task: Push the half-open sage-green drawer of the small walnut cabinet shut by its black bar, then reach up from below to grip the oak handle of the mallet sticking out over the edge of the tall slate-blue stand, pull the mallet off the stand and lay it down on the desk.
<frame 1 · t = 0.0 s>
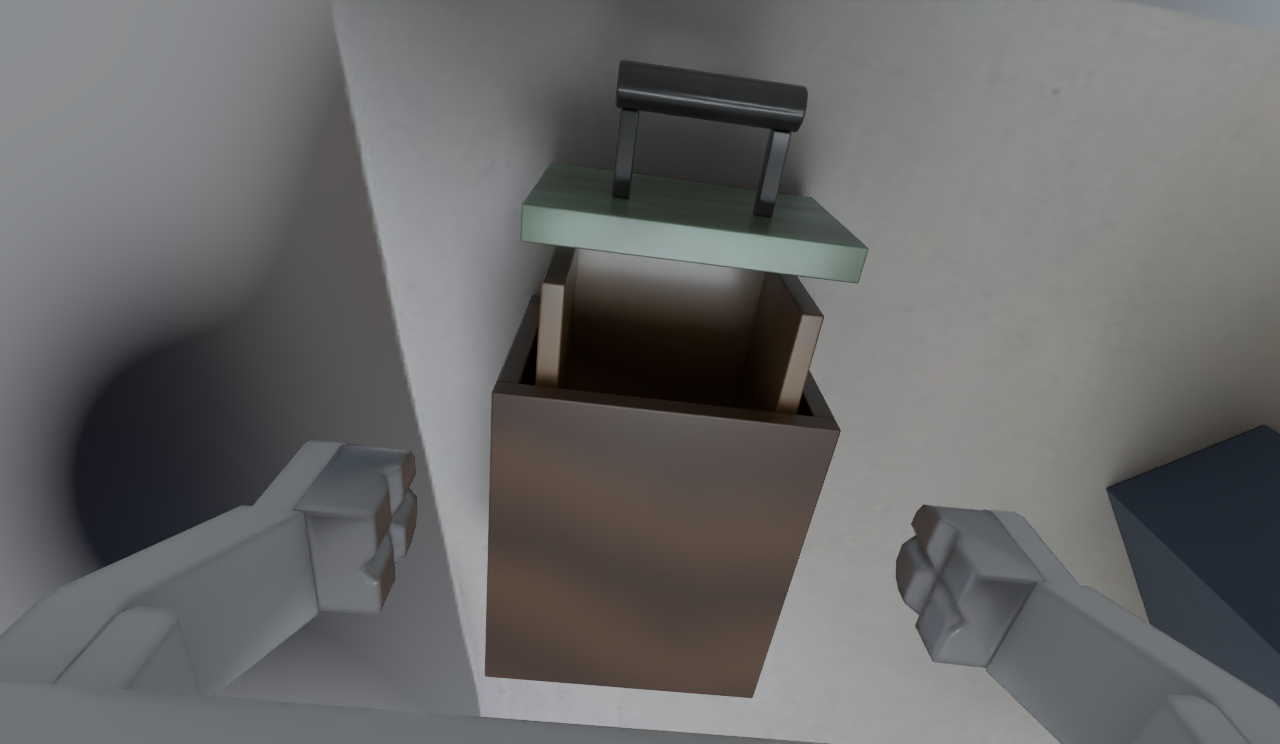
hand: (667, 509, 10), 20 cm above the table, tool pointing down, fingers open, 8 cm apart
stand: (1209, 564, 37), on the table
cabinet: (640, 439, 33), on the table
drawer: (670, 318, 25), point 5 cm above the table, slide at 5.0 cm
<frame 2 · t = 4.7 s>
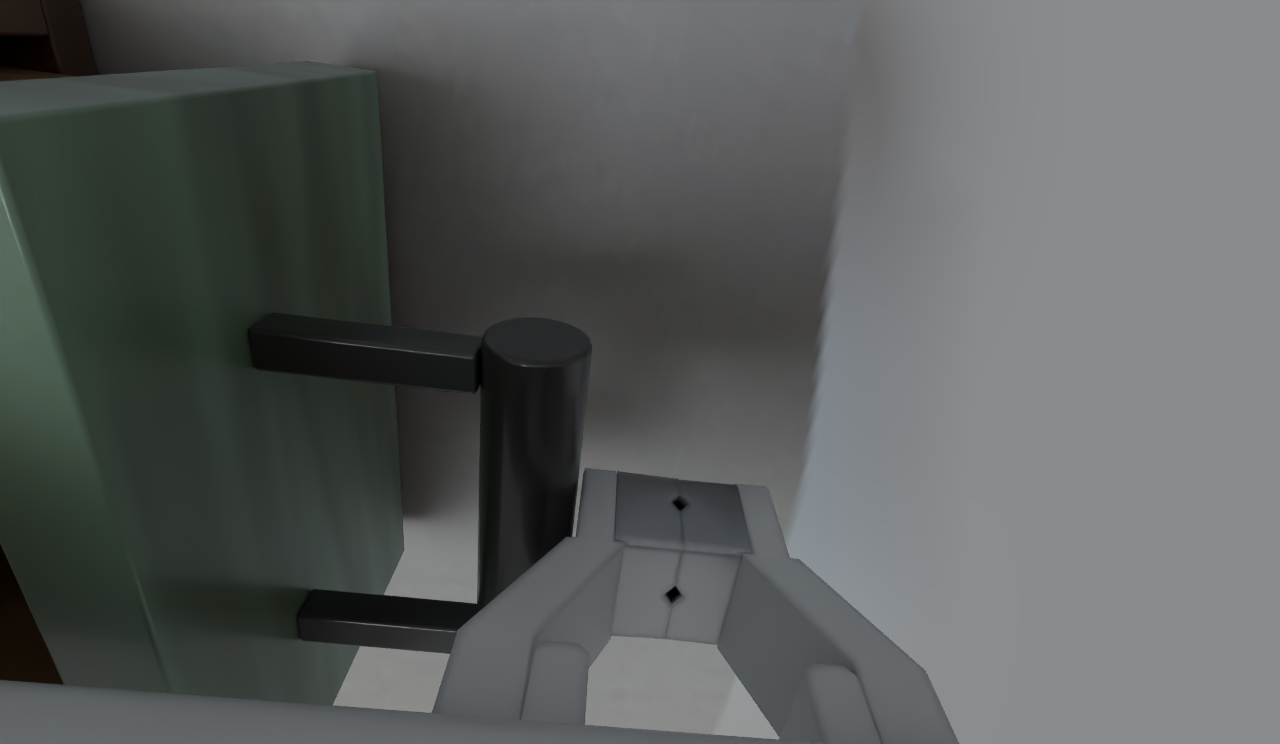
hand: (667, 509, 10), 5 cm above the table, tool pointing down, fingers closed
drawer: (6, 425, 10), point 5 cm above the table, slide at 4.2 cm, touching gripper
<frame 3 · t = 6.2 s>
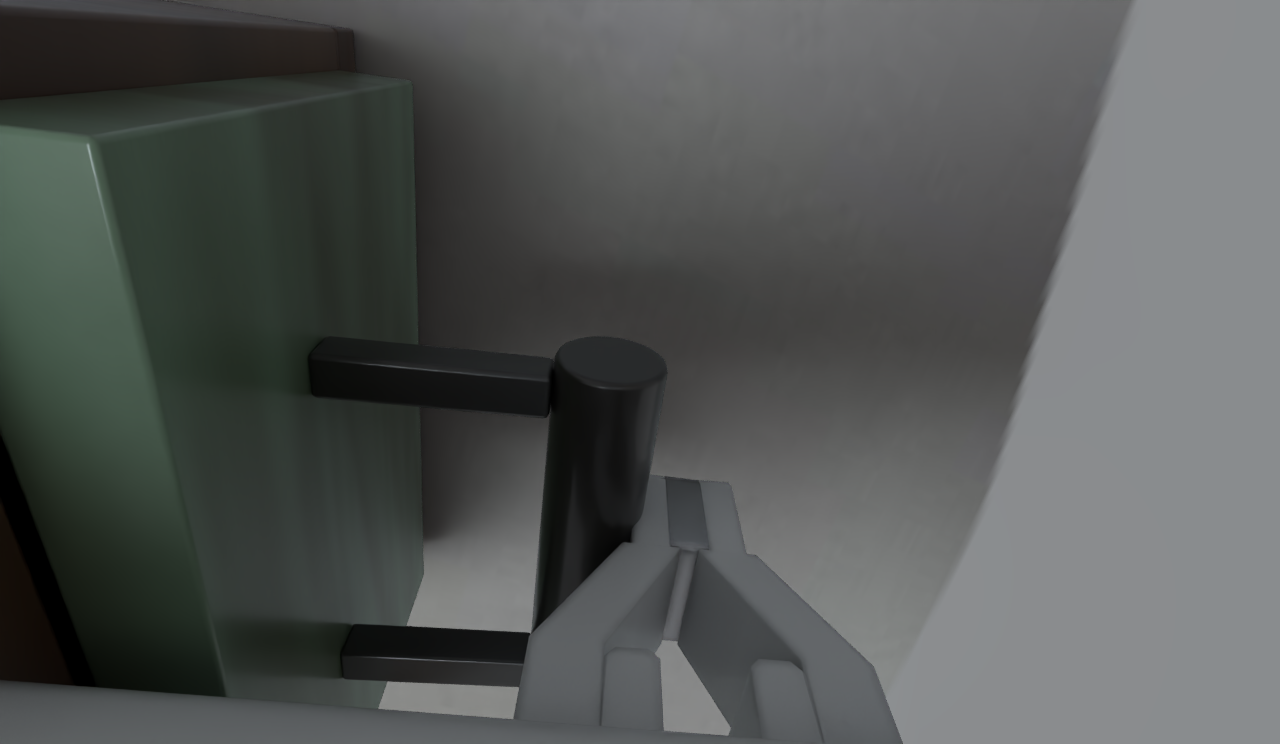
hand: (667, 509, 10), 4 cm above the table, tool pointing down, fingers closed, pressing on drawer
drawer: (19, 460, 9), point 5 cm above the table, slide at 0.0 cm, touching cabinet, gripper
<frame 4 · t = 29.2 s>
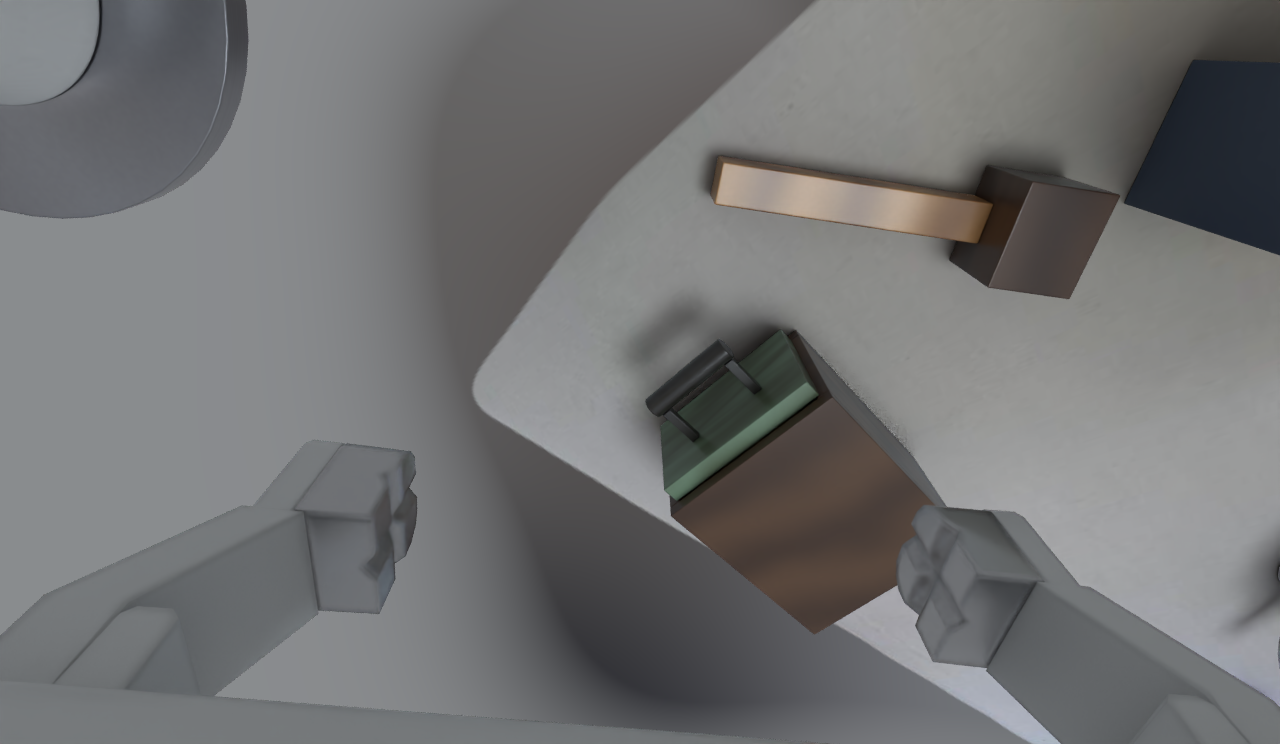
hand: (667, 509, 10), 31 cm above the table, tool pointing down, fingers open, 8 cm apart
mallet: (873, 200, 39), on the table
cabinet: (790, 445, 47), on the table
drawer: (769, 450, 42), point 5 cm above the table, slide at 0.0 cm, touching cabinet
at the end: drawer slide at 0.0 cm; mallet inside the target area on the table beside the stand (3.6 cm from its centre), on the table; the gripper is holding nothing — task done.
